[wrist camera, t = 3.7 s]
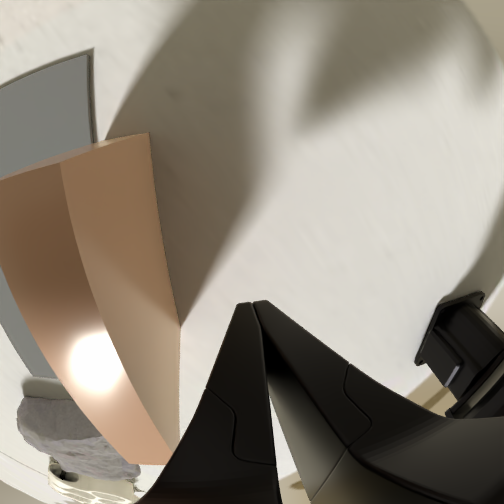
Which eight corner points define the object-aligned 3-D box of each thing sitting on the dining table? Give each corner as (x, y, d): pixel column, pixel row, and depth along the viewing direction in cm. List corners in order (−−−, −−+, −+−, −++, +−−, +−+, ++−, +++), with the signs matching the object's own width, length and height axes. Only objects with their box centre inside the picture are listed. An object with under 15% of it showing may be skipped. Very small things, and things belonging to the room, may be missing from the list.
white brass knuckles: (50, 450, 22) (156, 483, 27) (49, 477, 27) (126, 501, 32) (46, 471, 19) (157, 504, 24) (47, 492, 24) (126, 516, 29)
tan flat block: (149, 132, 10) (59, 162, 3) (180, 327, 15) (180, 464, 8) (101, 140, 10) (-26, 189, 3) (143, 329, 15) (125, 463, 8)
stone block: (106, 382, 19) (12, 391, 16) (109, 433, 15) (6, 435, 12) (148, 442, 25) (71, 450, 21) (157, 479, 21) (73, 485, 18)
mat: (89, 55, 8) (86, 54, 8) (154, 377, 16) (154, 380, 16) (-52, 121, 7) (-55, 122, 7) (34, 373, 15) (32, 376, 15)
